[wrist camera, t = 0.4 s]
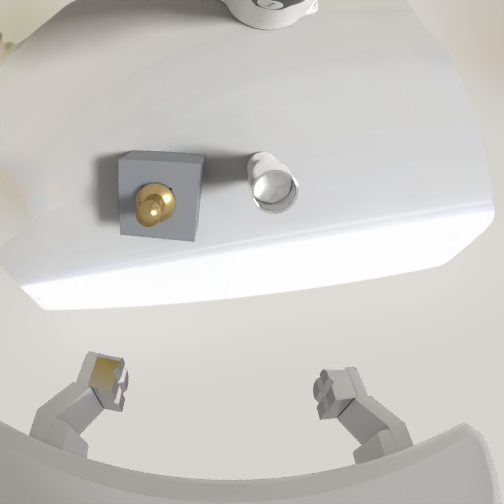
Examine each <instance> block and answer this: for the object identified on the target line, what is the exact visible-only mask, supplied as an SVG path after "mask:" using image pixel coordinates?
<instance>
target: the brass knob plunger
mask: <svg viewBox="0 0 504 504" xmlns="http://www.w3.org/2000/svg"><path fill="white" fill-rule="evenodd" d="M175 205H176V200H175V196H174V193H173V192H172V188H169V187H168V186H166V185H164V184H162V183H157V182H154V183H149V184H147V185H145V186H144V187H143V188H142V189H141V190H140V191H139V192H138V194H137V197H136V208H137V211H136V219H137V221H138V222H139V223H140V224H141V225H142V226H145V227H151V226H154V225H155V224H156V223H157V222H163V221H165V220H167V219H168V218H169V217H170V216H171V215H172V213H173V211H174V209H175Z"/></svg>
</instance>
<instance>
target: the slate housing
mask: <svg viewBox="0 0 504 504" xmlns="http://www.w3.org/2000/svg"><path fill="white" fill-rule="evenodd" d="M204 160H205V155H200V154H188V153H175V152H159V151H136V150H133V151H132V152H130V153H128V154H127V155H125V156H123V157H122V158H120V159H118V195H119V220H120V235H130V236H141V237H151V238H161V239H171V240H181V241H192V242H194V240H195V235H196V230H197V226H198V219H199V208H200V197H201V187H202V178H203V169H204ZM154 182H157V183H162V184H164V185H166V186H168V187H169V188H172V192H173V193H174V196H175V200H176V205H175V209H174V211H173V213H172V215H171V216H170V217H169V218H168V219H167V220H165V221H163V222H157V223H156V224H155V225H154V226H151V227H145V226H142V225H141V224H140V223H139V222H138V221H137V219H136V211H137V208H136V197H137V194H138V192H139V191H140V190H141V189H142V188H143V187H144V186H145V185H147V184H149V183H154Z"/></svg>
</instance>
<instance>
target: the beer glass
mask: <svg viewBox="0 0 504 504" xmlns="http://www.w3.org/2000/svg"><path fill="white" fill-rule="evenodd" d="M247 172H248V175H249V176H248V188H249V192H250V194H251V197H252V199H253V201H254V203H255V205H256V206H257V207H258V208H259V209H260V210H262V211H264V212H266V213H270V214H278V213H282V212H284V211H286V210H288V209H289V208H290V207H292V205H293V204H294V203H295V201H296V199H297V196H298V185H297V182H296V180H295V179H294V177H293V175H292V173H291V172H290V171H289V169H288V168H287V167H286V166H285V165H284V164H282V163H280V162H278V161H277V159H276V158H275V157H274V156H273V155H272V154H270V153H267V152H259V153H256V154H254V155H253V156H252V157H251V158H250V159H249V161H248V163H247Z"/></svg>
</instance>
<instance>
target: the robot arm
mask: <svg viewBox="0 0 504 504" xmlns="http://www.w3.org/2000/svg"><path fill="white" fill-rule="evenodd" d="M221 1H222V2H224V3H225V4H226V5H227V7H228V8H229V10H230V12H231V13H232V14H233V15H234V16H235V17H236V18H237V19H238V20H239V21H241V22H243V23H244V24H246V25H249V26H251V27H254V28H259V29H266V30H273V29H280V28H284V27H287V26H289V25H291V24H293V23H295V22H296V21H297V20H299V19H300V18H302V17H304V16H308V15H312V14H315V13H316V12H317V10H318V5H317V0H221ZM124 365H125V362H124V359H123V358H118V357H113V356H108V355H103V354H99V353H94V352H88V353H87V355H86V357H85V360H84V362H83V365H82V367H81V370H80V373H79V376H78V378H77V381H76V383H74V382H72V383H71V384H70V385H69V386H67V387H66V388H65V389H63V390H62V391H61V392H60V393H58V394H57V395H56V396H54V397H53V398H52V399H51V400H49V401H48V402H47V403H45V404H44V405H43V406H41V407H40V408H39V409H38V410H37V412H36V415H35V418H34V421H33V424H32V428H31V431H30V434H29V436H28V435H26V434H24V433H22V432H20V431H18V430H16V429H14V428H13V427H11V426H9V425H7V424H5V423H3V422H2V421H0V504H502V503H501V494H500V489H499V484H498V479H497V474H496V470H495V467H494V464H493V460H492V456H491V454H490V450H489V448H488V445H487V443H486V440H485V438H484V437H483V435H482V434H481V433H480V432H478V431H477V430H475V429H474V428H473V427H471V426H469V425H467V424H464V423H463V424H459V425H458V426H456V427H454V428H452V429H450V430H448V431H445V432H443V433H441V434H439V435H437V436H435V437H433V438H430V439H428V440H426V441H423V442H421V443H419V444H416V445H414V446H413V443H412V440H411V438H410V435H409V432H408V430H407V427H406V425H405V423H404V422H403V421H401V420H400V419H399V418H398V417H396V416H395V415H394V414H393V413H391V412H390V411H389V410H388V409H386V408H385V407H384V406H383V405H381V404H380V403H379V402H378V401H376V400H375V399H374V398H373V397H372V396H368V395H367V392H366V390H365V387H364V385H363V382H362V380H361V378H360V375H359V372H358V370H357V368H355V367H347V368H344V367H343V368H332V369H324V370H322V371H321V373H320V376H321V377H320V378H318V379H317V380H316V381H315V383H314V388H313V393H314V398H315V399H316V400H317V401H318V402H319V404H318V406H317V410H318V413H319V417H320V420H322V419H331V418H338V420H339V421H340V422H341V423H342V424H343V426H344V427H345V428H346V429H347V430H348V431H349V432H350V433H351V434H352V435H353V436H354V437H355V438H356V439H357V440H358V441H359V442H360V444H362V445H361V446H360V447H359V448H357V449H356V450H355V451H354V452H353V455H354V459H355V463H356V464H355V465H351V466H348V467H343V468H338V469H334V470H329V471H324V472H318V473H312V474H306V475H299V476H291V477H282V478H272V479H255V480H206V479H190V478H180V477H171V476H163V475H156V474H150V473H144V472H139V471H134V470H129V469H124V468H120V467H116V466H112V465H108V464H104V463H100V462H97V461H93V460H90V459H87V458H86V457H87V451H88V444H87V443H86V442H85V441H84V440H83V439H82V438H81V437H80V436H79V435H80V434H81V433H82V432H83V431H84V430H85V428H87V426H88V425H89V424H90V423H91V422H92V421H93V420H94V419H95V418H96V417H97V416H98V415H99V414H100V413H101V412H102V411H103V410H104V409H110V410H114V411H119V412H122V410H123V405H124V401H125V398H124V396H123V393H124V392H125V391H126V390H127V387H128V372H127V369H126V368H124ZM103 408H104V409H103Z"/></svg>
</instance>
